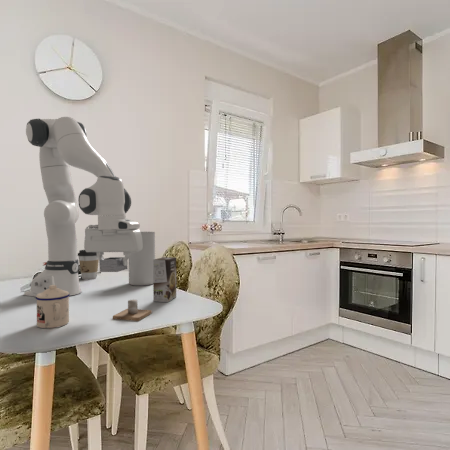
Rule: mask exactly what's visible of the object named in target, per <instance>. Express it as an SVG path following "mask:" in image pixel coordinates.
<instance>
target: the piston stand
mask: <svg viewBox="0 0 450 450" xmlns="http://www.w3.org/2000/svg"><path fill="white" fill-rule="evenodd" d="M138 302H139V301H138V299H128V300H127V308H125V309H124V310H122V311H119V312H117V313H116V314H114V315H112V320H120V321H121V320H122V321H134V322H139V321H141V320H143V319H144V318H146V317H148V316H150V315H151V314H152V312H153V311H152V309H140V308H139V307H138Z"/></svg>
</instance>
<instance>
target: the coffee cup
mask: <svg viewBox="0 0 450 450" xmlns="http://www.w3.org/2000/svg"><path fill="white" fill-rule="evenodd" d="M77 257H78V263H79V269H80V277H81V279H82V280H85V281H86V280H87V281H88V280H96V279H97V276H98V269H99V259H98V257H97V254H96V252H86V251H85V249H80V250H79V252H77Z"/></svg>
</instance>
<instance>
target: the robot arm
mask: <svg viewBox="0 0 450 450" xmlns="http://www.w3.org/2000/svg"><path fill="white" fill-rule="evenodd" d="M25 134H26V135H25V136H26V138H27V140H28V142H29V144H31V145H32V146H34V147H37V148H39V154H38V156H39V168H40V173H41V174H40V175H41V179H42V187H43V190H44V192H45V196H46V198H47V202H48V204H47V205H46V206H45V208H44V211H43V217H44V223H45V224H44V225H45V231H46V237H47V251H48V252H47V254H48V255H47V256H48V258H47V259H48V260H47V261H45V262H44V263H43V266H44V270H42V271H41V272H40V273H39V274H38V275H36V276H35V277H34V278H33V279H32V280H31V281H30V289H29V290H27V291H25V292H24V293H23V296H29V297H34V298H36V296H37V294H39V293H42V292H44V291H45V290H47V289H49V286H50V285H56V286H57V288H59V289H61V290H63V291H67V292H69V294H70V295H69V297H70V296H74V295H75V296H76V295H78V294H81V293H82V292H83V291H82V288H81V284H80V278H79V269H80V263H79V258H78V256H77V255H78V239H77V234H76V223H77V221H78V220H79V218H80V217H79V216H80V212H79V209H80V210H81V212H82V213H83V214H85V215H89V216H97V224H89V225H88V226H86V227H85V229H84V242H83V244H84V245H83V247H84V248H83V250H85V251H86V252H96V254H97V257H98V259H99V260H101V259H105V257H104V255H105V253H123V255H122V256H123V257H124V259H123V260H121V266H126V265H127V266H129V257H130V252H139V251H141V250H142V248H143V242H142V235H141V232H142V231H141V230H140V226H141V225H140V222H138V221H134V220H131V219H128V218H126V214H127V213H128V212H129V210H130V209H131V206H132V198H131V195H130V193H129V192H128V191H127V189H126V188H125V187H124V183H123V180H122V179H121V178H120V177H117V176H116V175H115V173H114V172H113V170H112V168H111V166H110V165H109V164H108V162H107V161H106V159H105V158H104V157H103V156H102V155H101V154H99V153H98V151H96V150H95V148H94V147H93V146H92V144H91V143H90V141H89V139H88V138H87V129H86V127H85V126H84V124H83V123H82V122H80V121H77V120H76V119H74V118H73V117H70V116H61V117H58V118H53V119H51V118H42V119H41V118H32V119H30V120H28V122H27V123H26V127H25ZM70 166H71V167H73V168H77V169H79V170H82V171H86V172H88V173H90V174H92V175H94V176H95V177H96V178H97V179H96V181H95V182H94V183H93V184H92V185H91V186H89V187H85V188H84V189H82V190H81V191H80V193H79V195H78V201H77V197H76V194H75V190H74V186H73V180H72V174H71V167H70ZM77 202H78V203H77ZM78 207H79V208H78Z"/></svg>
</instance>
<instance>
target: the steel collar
mask: <svg viewBox="0 0 450 450" xmlns="http://www.w3.org/2000/svg"><path fill="white" fill-rule="evenodd" d="M124 257H125V256H123V257H122V256H118V257H117V256H110V257H106V258H105V257H104V259H101V260H99V263H98V266H99V272H100V273H118V272H122V271H124V270H128V265H126V266H121V260H123V259H124Z"/></svg>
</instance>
